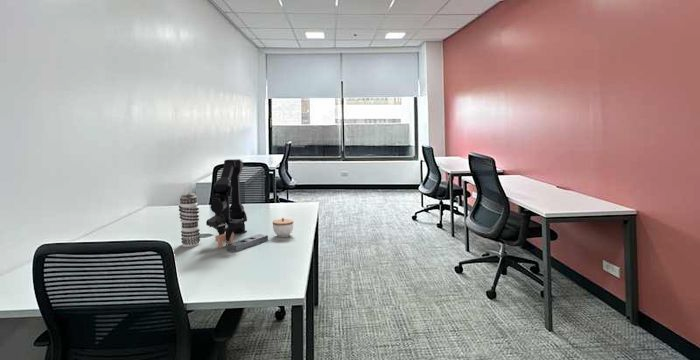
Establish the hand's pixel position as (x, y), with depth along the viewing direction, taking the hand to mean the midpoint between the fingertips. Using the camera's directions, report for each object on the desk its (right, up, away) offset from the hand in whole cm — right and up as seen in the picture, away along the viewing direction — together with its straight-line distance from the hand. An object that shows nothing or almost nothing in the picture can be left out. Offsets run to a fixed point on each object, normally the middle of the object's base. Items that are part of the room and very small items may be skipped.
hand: (225, 240), depth 204 cm
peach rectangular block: (0, -2, 0) cm, 2 cm away
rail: (+11, -2, +1) cm, 11 cm away
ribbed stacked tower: (-18, -2, +4) cm, 18 cm away
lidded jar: (+25, 0, +18) cm, 31 cm away
